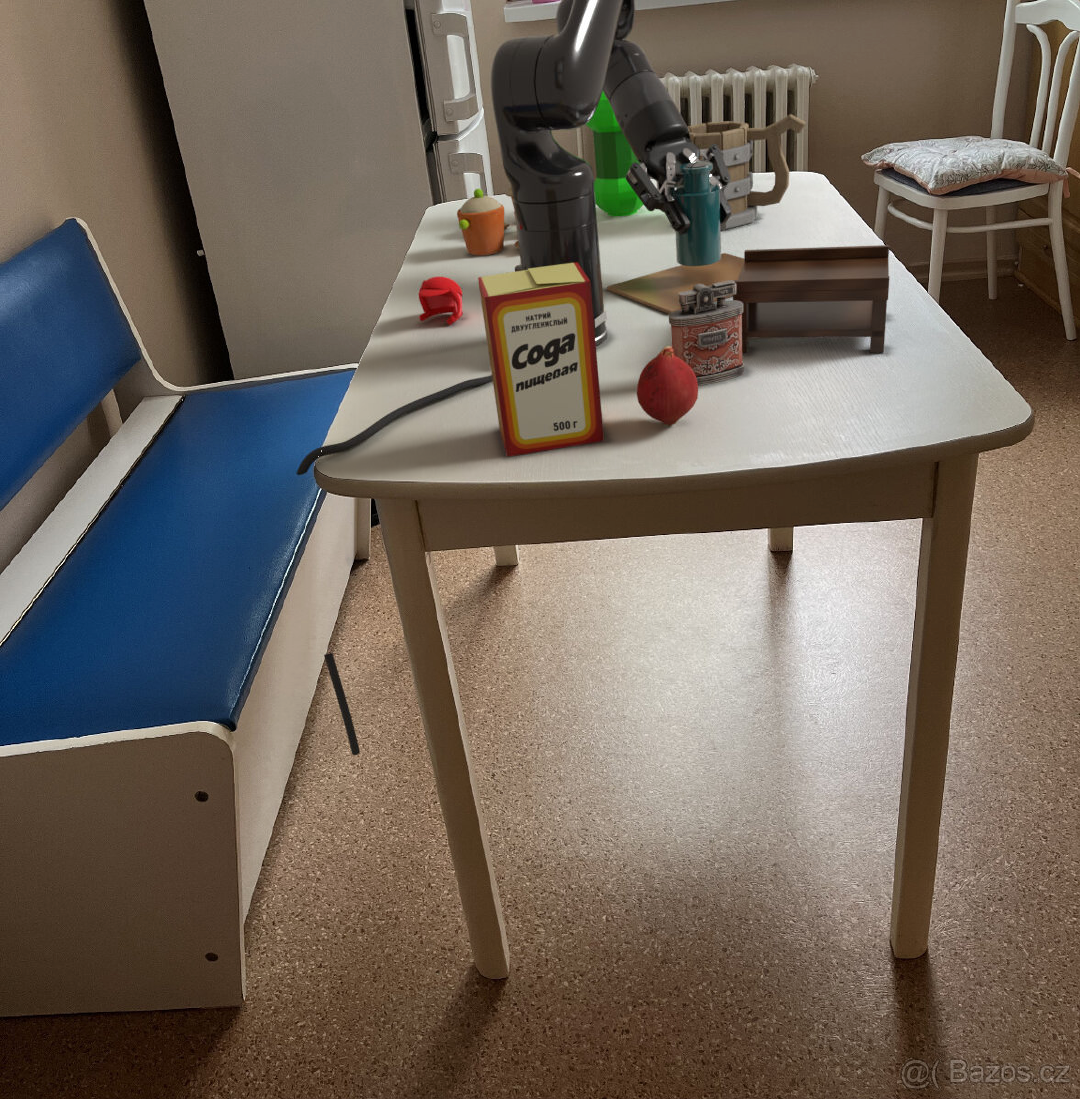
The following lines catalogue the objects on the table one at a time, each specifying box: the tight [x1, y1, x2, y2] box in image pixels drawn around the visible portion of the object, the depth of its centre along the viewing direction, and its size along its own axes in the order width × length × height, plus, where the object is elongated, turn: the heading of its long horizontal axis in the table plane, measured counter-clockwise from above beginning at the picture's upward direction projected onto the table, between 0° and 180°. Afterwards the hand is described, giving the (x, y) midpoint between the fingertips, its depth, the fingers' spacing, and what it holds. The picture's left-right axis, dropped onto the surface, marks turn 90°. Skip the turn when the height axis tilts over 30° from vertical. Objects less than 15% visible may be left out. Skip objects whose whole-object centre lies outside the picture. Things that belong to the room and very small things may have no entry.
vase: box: [675, 162, 722, 266], centre depth 133 cm, size 6×6×12 cm
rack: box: [732, 244, 890, 354], centre depth 115 cm, size 16×12×8 cm
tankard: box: [675, 113, 806, 231], centre depth 160 cm, size 20×13×15 cm, turn 73°
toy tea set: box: [456, 186, 519, 256], centre depth 168 cm, size 26×16×10 cm, turn 2°
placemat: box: [606, 252, 745, 315], centre depth 138 cm, size 20×15×1 cm
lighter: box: [668, 280, 745, 387], centre depth 107 cm, size 8×3×10 cm, turn 106°
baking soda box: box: [477, 262, 605, 458], centre depth 98 cm, size 10×6×16 cm
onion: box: [636, 345, 699, 426], centre depth 99 cm, size 6×6×8 cm
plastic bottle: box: [585, 91, 644, 218], centre depth 169 cm, size 10×10×25 cm
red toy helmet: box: [417, 276, 464, 326], centre depth 135 cm, size 8×6×6 cm
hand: (706, 224), depth 132 cm, fingers closed on vase, 6 cm apart
